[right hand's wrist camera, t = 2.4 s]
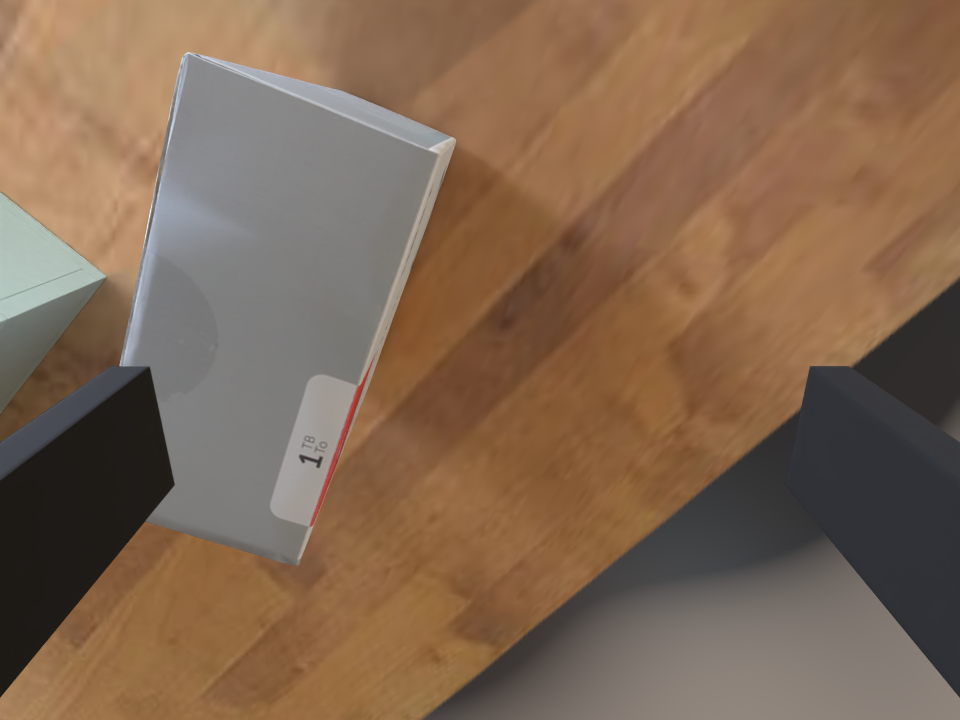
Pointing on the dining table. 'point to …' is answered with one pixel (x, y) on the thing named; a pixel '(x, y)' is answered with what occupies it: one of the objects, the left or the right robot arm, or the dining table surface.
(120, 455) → the right robot arm
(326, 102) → the hard drive box
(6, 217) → the cabinet
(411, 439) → the dining table surface
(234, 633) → the dining table surface
